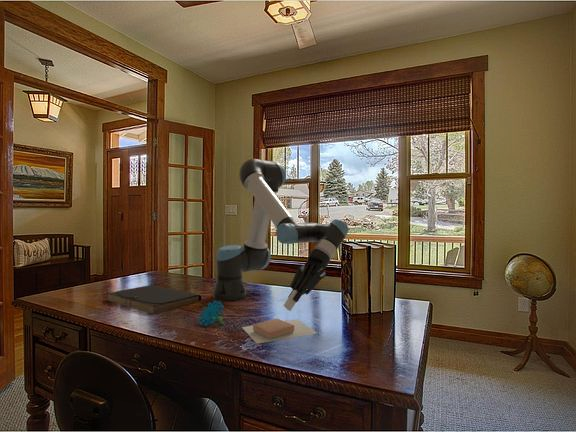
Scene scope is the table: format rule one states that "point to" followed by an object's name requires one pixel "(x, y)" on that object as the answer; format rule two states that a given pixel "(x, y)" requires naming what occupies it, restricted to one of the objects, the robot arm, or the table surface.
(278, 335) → the tile
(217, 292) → the robot arm
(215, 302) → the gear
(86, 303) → the table surface
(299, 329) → the felt mat
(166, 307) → the dark hardcover book
